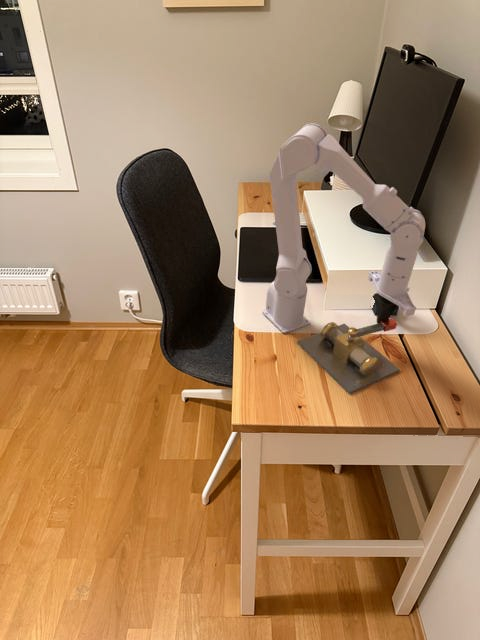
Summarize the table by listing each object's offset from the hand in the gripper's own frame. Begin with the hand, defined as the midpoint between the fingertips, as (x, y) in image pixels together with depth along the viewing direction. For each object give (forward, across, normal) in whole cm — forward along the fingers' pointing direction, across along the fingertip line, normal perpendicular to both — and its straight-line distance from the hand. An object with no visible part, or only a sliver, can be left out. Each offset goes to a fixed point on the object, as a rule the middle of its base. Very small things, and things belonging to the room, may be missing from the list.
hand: (381, 323), depth 101 cm
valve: (+6, -2, +9) cm, 11 cm away
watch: (+6, +11, -9) cm, 15 cm away
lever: (+1, -2, +4) cm, 4 cm away
